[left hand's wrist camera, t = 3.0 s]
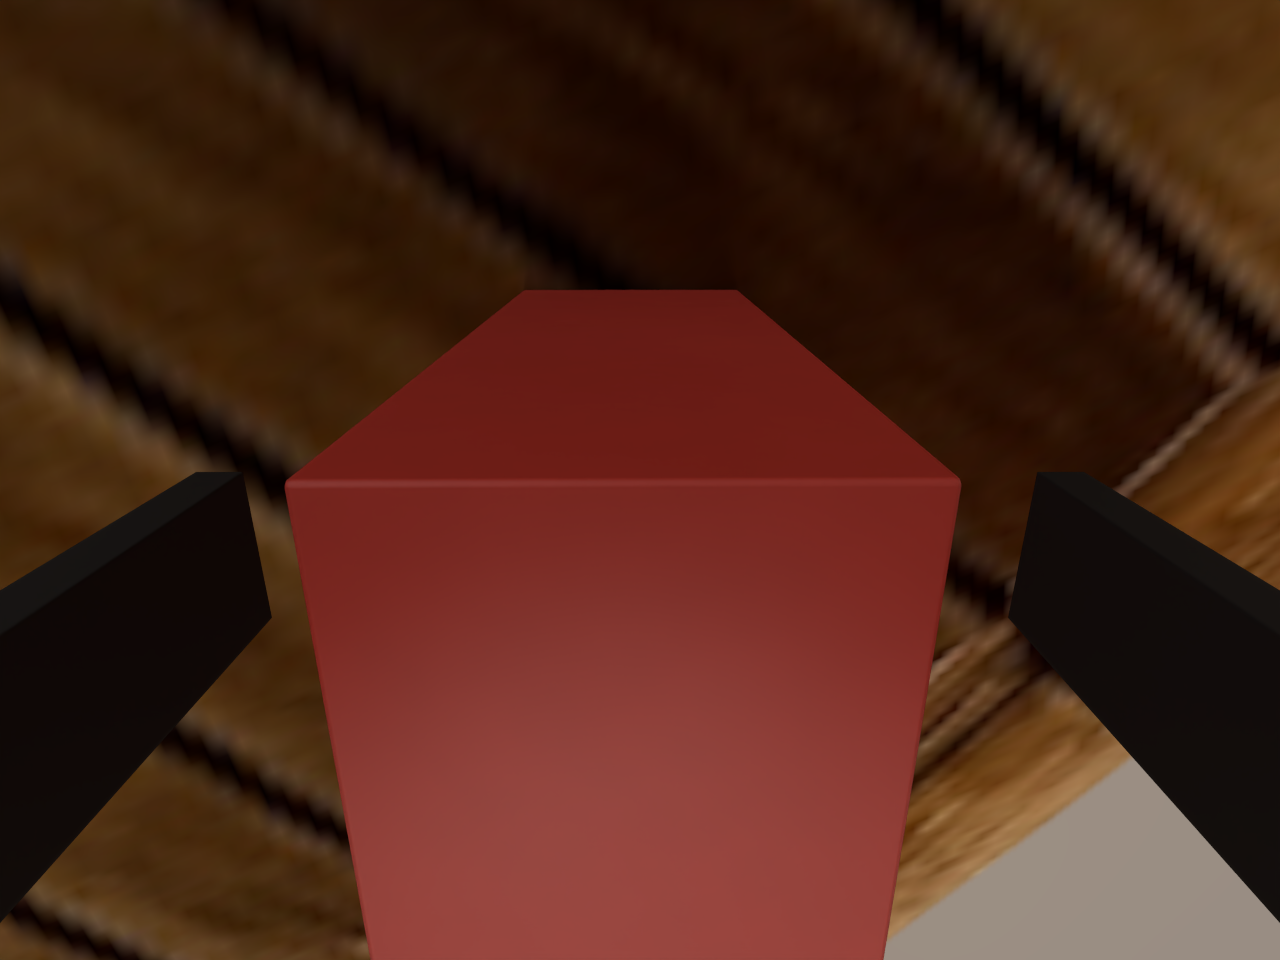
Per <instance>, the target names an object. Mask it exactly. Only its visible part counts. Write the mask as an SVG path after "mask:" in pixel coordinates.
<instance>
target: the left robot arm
mask: <svg viewBox="0 0 1280 960" xmlns="http://www.w3.org/2000/svg"><path fill="white" fill-rule="evenodd" d="M271 618H272V616H271V611H270V606H269V601H268V596H267V591H266V586H265V581H264V576H263V571H262V566H261V561H260V556H259V551H258V546H257V542H256V537H255V532H254V527H253V522H252V517H251V512H250V507H249V502H248V497H247V492H246V487H245V482H244V477H243V472H196V473H194V474H192V475H191V476H189V477H187V478H186V479H184V480H182V481H181V482H179V483H177V484H176V485H174V486H172V487H171V488H169V489H167V490H166V491H164V492H162V493H161V494H159V495H157V496H156V497H154V498H153V499H151V500H149V501H148V502H146V503H144V504H143V505H141V506H139V507H138V508H136V509H134V510H133V511H131V512H129V513H128V514H126V515H124V516H123V517H121V518H119V519H118V520H116V521H114V522H113V523H111V524H109V525H108V526H106V527H105V528H103V529H101V530H100V531H98V532H96V533H95V534H93V535H91V536H90V537H88V538H86V539H85V540H83V541H81V542H80V543H78V544H76V545H75V546H73V547H71V548H70V549H68V550H66V551H65V552H63V553H61V554H60V555H58V556H57V557H55V558H53V559H52V560H50V561H48V562H47V563H45V564H43V565H42V566H40V567H38V568H37V569H35V570H33V571H32V572H30V573H28V574H27V575H25V576H23V577H22V578H20V579H18V580H17V581H15V582H13V583H12V584H10V585H9V586H7V587H5V588H4V589H2V590H0V922H1V921H2V920H3V919H4V918H5V917H6V916H7V914H8V913H9V912H10V911H11V910H12V909H13V908H14V907H15V905H16V904H17V903H18V902H19V901H20V900H21V899H22V898H23V896H24V895H25V894H26V893H27V892H28V891H29V890H30V889H31V888H32V886H33V885H34V884H35V883H36V882H37V881H38V880H39V879H40V877H41V876H42V875H43V874H44V873H45V872H46V871H47V870H48V868H49V867H50V866H51V865H52V864H53V863H54V862H55V861H56V859H57V858H58V857H59V856H60V855H61V854H62V853H63V852H64V850H65V849H66V848H67V847H68V846H69V845H70V844H71V843H72V841H73V840H74V839H75V838H76V837H77V836H78V835H79V834H80V832H81V831H82V830H83V829H84V828H85V827H86V826H87V825H88V823H89V822H90V821H91V820H92V819H93V818H94V817H95V816H96V814H97V813H98V812H99V811H100V810H101V809H102V808H103V807H104V806H105V804H106V803H107V802H108V801H109V800H110V799H111V798H112V797H113V795H114V794H115V793H116V792H117V791H118V790H119V789H120V788H121V786H122V785H123V784H124V783H125V782H126V781H127V780H128V779H129V777H130V776H131V775H132V774H133V773H134V772H135V771H136V770H137V768H138V767H139V766H140V765H141V764H142V763H143V762H144V761H145V759H146V758H147V757H148V756H149V755H150V754H151V753H152V752H153V750H154V749H155V748H156V747H157V746H158V745H159V744H160V743H161V741H162V740H163V739H164V738H165V737H166V736H167V735H168V734H169V732H170V731H171V730H172V729H173V728H174V727H175V726H176V725H177V724H178V722H179V721H180V720H181V719H182V718H183V717H184V716H185V715H186V713H187V712H188V711H189V710H190V709H191V708H192V707H193V706H194V704H195V703H196V702H197V701H198V700H199V699H200V698H201V697H202V695H203V694H204V693H205V692H206V691H207V690H208V689H209V688H210V686H211V685H212V684H213V683H214V682H215V681H216V680H217V679H218V677H219V676H220V675H221V674H222V673H223V672H224V671H225V670H226V668H227V667H228V666H229V665H230V664H231V663H232V662H233V661H234V659H235V658H236V657H237V656H238V655H239V654H240V653H241V652H242V651H243V649H244V648H245V647H246V646H247V645H248V644H249V643H250V642H251V640H252V639H253V638H254V637H255V636H256V635H257V634H258V633H259V631H260V630H261V629H262V628H263V627H264V626H265V625H266V624H267V622H268V621H269V620H270V619H271ZM1008 618H1009V619H1010V620H1011V621H1012V622H1013V624H1014V625H1015V626H1016V627H1017V628H1018V629H1019V630H1020V631H1021V633H1022V634H1023V635H1024V636H1025V637H1026V638H1027V639H1028V640H1029V642H1030V643H1031V644H1032V645H1033V646H1034V647H1035V648H1036V649H1037V651H1038V652H1039V653H1040V654H1041V655H1042V656H1043V657H1044V658H1045V659H1046V661H1047V662H1048V663H1049V664H1050V665H1051V666H1052V667H1053V668H1054V670H1055V671H1056V672H1057V673H1058V674H1059V675H1060V676H1061V677H1062V679H1063V680H1064V681H1065V682H1066V683H1067V684H1068V685H1069V686H1070V688H1071V689H1072V690H1073V691H1074V692H1075V693H1076V694H1077V695H1078V697H1079V698H1080V699H1081V700H1082V701H1083V702H1084V703H1085V704H1086V706H1087V707H1088V708H1089V709H1090V710H1091V711H1092V712H1093V713H1094V715H1095V716H1096V717H1097V718H1098V719H1099V720H1100V721H1101V722H1102V724H1103V725H1104V726H1105V727H1106V728H1107V729H1108V730H1109V731H1110V733H1111V734H1112V735H1113V736H1114V737H1115V738H1116V739H1117V740H1118V741H1119V743H1120V744H1121V745H1122V746H1123V747H1124V748H1125V749H1126V750H1127V752H1128V753H1129V754H1130V755H1131V756H1132V757H1133V758H1134V759H1135V761H1136V762H1137V763H1138V764H1139V765H1140V766H1141V767H1142V768H1143V770H1144V771H1145V772H1146V773H1147V774H1148V775H1149V776H1150V777H1151V778H1152V780H1153V781H1154V782H1155V783H1156V784H1157V785H1158V786H1159V788H1160V789H1161V790H1162V791H1163V792H1164V793H1165V794H1166V795H1167V796H1168V798H1169V799H1170V800H1171V801H1172V802H1173V803H1174V804H1175V805H1176V807H1177V808H1178V809H1179V810H1180V811H1181V812H1182V813H1183V814H1184V816H1185V817H1186V818H1187V819H1188V820H1189V821H1190V822H1191V823H1192V825H1193V826H1194V827H1195V828H1196V829H1197V830H1198V831H1199V832H1200V834H1201V835H1202V836H1203V837H1204V838H1205V839H1206V840H1207V841H1208V843H1209V844H1210V845H1211V846H1212V847H1213V848H1214V849H1215V850H1216V852H1217V853H1218V854H1219V855H1220V856H1221V857H1222V858H1223V859H1224V861H1225V862H1226V863H1227V864H1228V865H1229V866H1230V867H1231V868H1232V870H1233V871H1234V872H1235V873H1236V874H1237V875H1238V876H1239V877H1240V879H1241V880H1242V881H1243V882H1244V883H1245V884H1246V885H1247V886H1248V888H1249V889H1250V890H1251V891H1252V892H1253V893H1254V894H1255V895H1256V896H1257V898H1258V899H1259V900H1260V901H1261V902H1262V903H1263V904H1264V905H1265V907H1266V908H1267V909H1268V910H1269V911H1270V912H1271V913H1272V914H1273V916H1274V917H1275V918H1276V919H1277V920H1278V921H1279V922H1280V590H1278V589H1276V588H1275V587H1273V586H1271V585H1270V584H1268V583H1267V582H1265V581H1263V580H1262V579H1260V578H1258V577H1257V576H1255V575H1253V574H1252V573H1250V572H1248V571H1247V570H1245V569H1243V568H1242V567H1240V566H1238V565H1237V564H1235V563H1233V562H1232V561H1230V560H1228V559H1227V558H1225V557H1223V556H1222V555H1220V554H1219V553H1217V552H1215V551H1214V550H1212V549H1210V548H1209V547H1207V546H1205V545H1204V544H1202V543H1200V542H1199V541H1197V540H1195V539H1194V538H1192V537H1190V536H1189V535H1187V534H1185V533H1184V532H1182V531H1180V530H1179V529H1177V528H1175V527H1174V526H1172V525H1171V524H1169V523H1167V522H1166V521H1164V520H1162V519H1161V518H1159V517H1157V516H1156V515H1154V514H1152V513H1151V512H1149V511H1147V510H1146V509H1144V508H1142V507H1141V506H1139V505H1137V504H1136V503H1134V502H1132V501H1131V500H1129V499H1127V498H1126V497H1124V496H1123V495H1121V494H1119V493H1118V492H1116V491H1114V490H1113V489H1111V488H1109V487H1108V486H1106V485H1104V484H1103V483H1101V482H1099V481H1098V480H1096V479H1094V478H1093V477H1091V476H1089V475H1088V474H1086V473H1084V472H1037V477H1036V482H1035V487H1034V492H1033V497H1032V502H1031V507H1030V512H1029V517H1028V522H1027V527H1026V532H1025V537H1024V542H1023V546H1022V551H1021V556H1020V561H1019V566H1018V571H1017V576H1016V581H1015V586H1014V591H1013V596H1012V601H1011V606H1010V611H1009V616H1008Z"/></svg>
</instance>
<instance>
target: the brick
mask: <svg viewBox="0 0 1280 960" xmlns="http://www.w3.org/2000/svg"><path fill="white" fill-rule="evenodd" d="M960 490H961V482H960V478H958V477H957V476H956V475H955V474H954V473H952V472H951V471H950V470H949V469H948V468H947V467H945V466H944V465H943V464H942V463H941V462H940V461H938V460H937V459H936V458H935V457H934V456H932V455H931V454H930V453H929V452H928V451H927V450H925V449H924V448H923V447H922V446H921V445H919V444H918V443H917V442H916V441H915V440H914V439H912V438H911V437H910V436H909V435H908V434H906V433H905V432H904V431H903V430H902V429H901V428H899V427H898V426H897V425H896V424H895V423H893V422H892V421H891V420H890V419H889V418H888V417H886V416H885V415H884V414H883V413H882V412H880V411H879V410H878V409H877V408H876V407H875V406H873V405H872V404H871V403H870V402H869V401H867V400H866V399H865V398H864V397H863V396H862V395H860V394H859V393H858V392H857V391H856V390H854V389H853V388H852V387H851V386H850V385H849V384H847V383H846V382H845V381H844V380H843V379H841V378H840V377H839V376H838V375H837V374H836V373H834V372H833V371H832V370H831V369H830V368H828V367H827V366H826V365H825V364H824V363H823V362H821V361H820V360H819V359H818V358H817V357H815V356H814V355H813V354H812V353H811V352H810V351H808V350H807V349H806V348H805V347H804V346H802V345H801V344H800V343H799V342H798V341H797V340H795V339H794V338H793V337H792V336H791V335H789V334H788V333H787V332H786V331H785V330H784V329H782V328H781V327H780V326H779V325H778V324H776V323H775V322H774V321H773V320H772V319H771V318H769V317H768V316H767V315H766V314H765V313H763V312H762V311H761V310H760V309H759V308H758V307H756V306H755V305H754V304H753V303H752V302H750V301H749V300H748V299H747V298H746V297H745V296H743V295H742V294H741V293H740V292H739V291H737V290H524V291H523V292H521V293H520V294H519V295H518V296H516V297H515V298H514V299H513V300H511V301H510V302H509V303H508V304H506V305H505V306H504V307H503V308H501V309H500V310H499V311H498V312H496V313H495V314H494V315H493V316H491V317H490V318H489V319H488V320H486V321H485V322H484V323H483V324H481V325H480V326H479V327H478V328H476V329H475V330H474V331H473V332H471V333H470V334H469V335H468V336H466V337H465V338H464V339H463V340H461V341H460V342H459V343H458V344H456V345H455V346H454V347H453V348H451V349H450V350H449V351H448V352H446V353H445V354H444V355H443V356H441V357H440V358H439V359H438V360H436V361H435V362H434V363H433V364H431V365H430V366H429V367H428V368H426V369H425V370H424V371H423V372H421V373H420V374H419V375H418V376H416V377H415V378H414V379H413V380H411V381H410V382H409V383H408V384H406V385H405V386H404V387H403V388H401V389H400V390H399V391H398V392H396V393H395V394H394V395H393V396H391V397H390V398H389V399H388V400H386V401H385V402H384V403H383V404H381V405H380V406H379V407H378V408H376V409H375V410H374V411H373V412H371V413H370V414H369V415H368V416H366V417H365V418H364V419H363V420H361V421H360V422H359V423H358V424H356V425H355V426H354V427H353V428H351V429H350V430H349V431H348V432H346V433H345V434H344V435H343V436H341V437H340V438H339V439H338V440H336V441H335V442H334V443H333V444H331V445H330V446H329V447H328V448H326V449H325V450H324V451H323V452H321V453H320V454H319V455H318V456H316V457H315V458H314V459H313V460H311V461H310V462H309V463H308V464H306V465H305V466H304V467H303V468H301V469H300V470H299V471H298V472H296V473H295V474H294V475H293V476H291V477H290V478H289V479H288V480H287V481H286V484H285V492H286V497H287V503H288V508H289V514H290V519H291V525H292V530H293V536H294V541H295V547H296V552H297V558H298V563H299V569H300V574H301V580H302V585H303V591H304V596H305V602H306V607H307V613H308V618H309V624H310V629H311V635H312V640H313V646H314V651H315V657H316V662H317V668H318V673H319V679H320V684H321V690H322V695H323V701H324V706H325V712H326V717H327V723H328V728H329V734H330V739H331V745H332V750H333V756H334V761H335V766H336V772H337V777H338V783H339V788H340V794H341V799H342V805H343V810H344V816H345V821H346V827H347V832H348V838H349V843H350V849H351V854H352V860H353V865H354V871H355V876H356V882H357V887H358V893H359V898H360V904H361V909H362V915H363V920H364V926H365V931H366V937H367V942H368V948H369V953H370V959H371V960H883V958H884V952H885V946H886V940H887V934H888V928H889V922H890V916H891V910H892V904H893V898H894V892H895V886H896V879H897V873H898V867H899V861H900V855H901V849H902V843H903V837H904V831H905V825H906V819H907V813H908V807H909V800H910V794H911V788H912V782H913V776H914V770H915V764H916V758H917V752H918V746H919V740H920V734H921V727H922V721H923V715H924V709H925V703H926V697H927V691H928V685H929V679H930V673H931V667H932V661H933V655H934V648H935V642H936V636H937V630H938V624H939V618H940V612H941V606H942V600H943V594H944V588H945V582H946V575H947V569H948V563H949V557H950V551H951V545H952V539H953V533H954V527H955V521H956V515H957V509H958V503H959V496H960Z"/></svg>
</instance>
